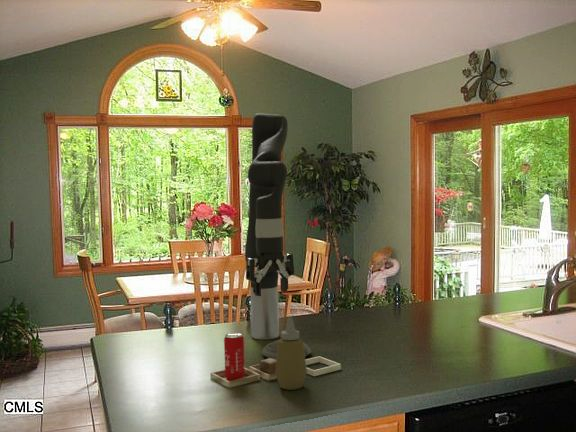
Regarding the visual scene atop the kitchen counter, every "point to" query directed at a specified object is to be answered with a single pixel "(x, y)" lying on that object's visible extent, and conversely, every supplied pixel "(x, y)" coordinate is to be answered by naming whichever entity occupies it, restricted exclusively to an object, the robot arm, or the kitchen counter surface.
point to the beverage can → (234, 356)
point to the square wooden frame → (262, 373)
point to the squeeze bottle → (290, 358)
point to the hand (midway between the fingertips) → (271, 293)
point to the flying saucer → (271, 350)
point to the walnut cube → (268, 365)
